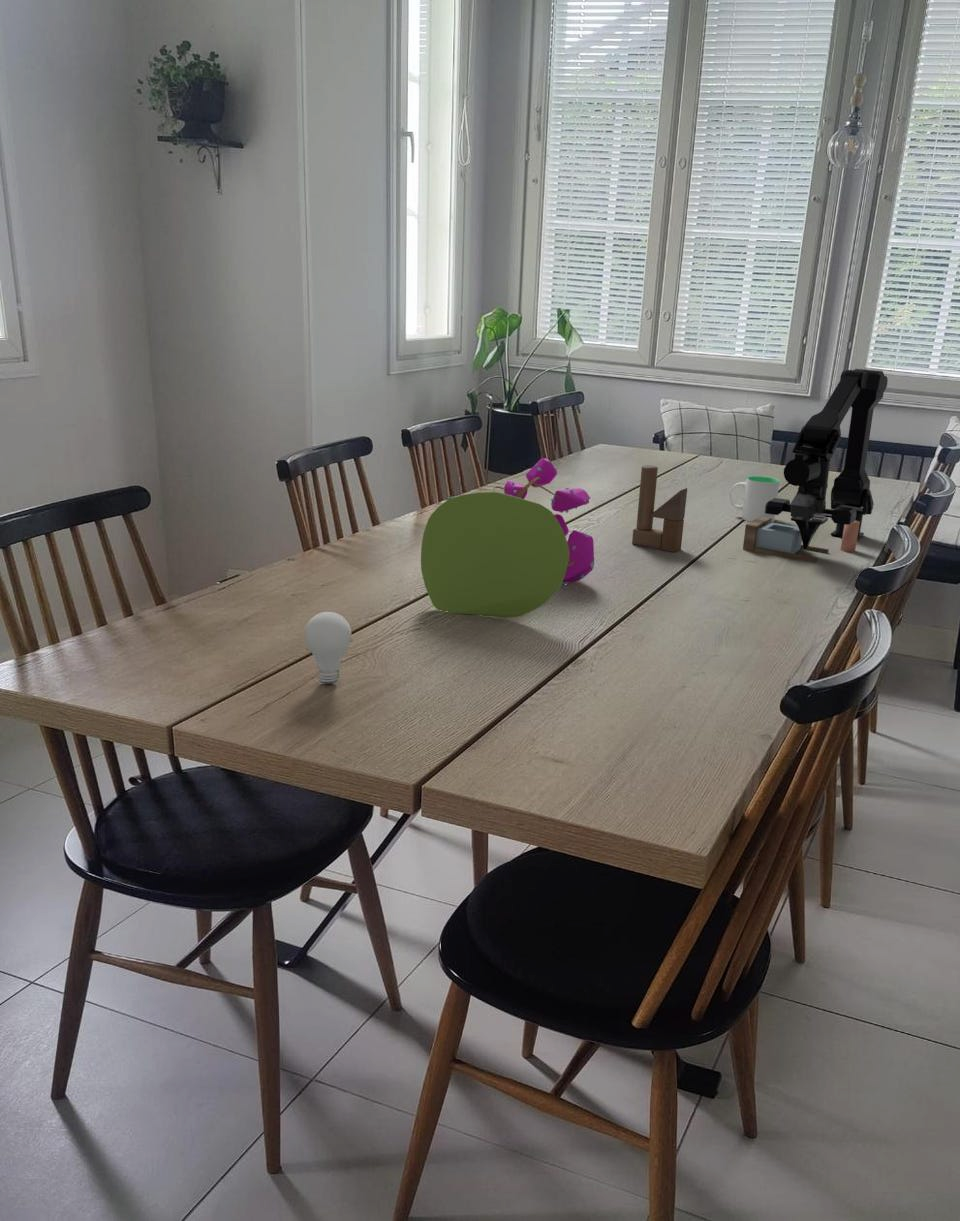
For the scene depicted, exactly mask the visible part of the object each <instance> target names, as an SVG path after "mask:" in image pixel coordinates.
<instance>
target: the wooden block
mask: <svg viewBox="0 0 960 1221" xmlns="http://www.w3.org/2000/svg"><path fill="white" fill-rule="evenodd" d="M658 470H659V468H658V466H656V465H652V464H651V465H650V464H649V465H643V466H641V472H640V482H639V484H640V485H639V494H638V503H637V504H638V506H637V517H636V525H635V526H636V528H633V530H632V538H631V539H632V540H631V544H632V545H635V544H636V546H641V547H646V548H652V549H657V550H661V551H666V552H671V553H676V552H679V551H680V550H682V542H683V541H682V540H683V534H684V533H683V531H684V522H685V520H684V519H685V515H686V513H685V512H686V506H687V505H686V503H687V497H688V496H687V495H688V487H685V488H683V489H680V490H679V491H677V493H675V494H674V495H673V496H672V497H670V498H669V499H667V501H666V502H664V503H663V504H662V505H661V506H659V507H658V508H657V509H656V510H655V502H656V492H657V491H656V490H657V480H658V473H659V472H658ZM654 518H657V519H663V526H662V530H661V529H656V528H653V525H654V524H653V522H654Z"/></svg>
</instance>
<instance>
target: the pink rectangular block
mask: <svg viewBox="0 0 960 1221" xmlns="http://www.w3.org/2000/svg"><path fill="white" fill-rule="evenodd" d="M859 524H860V522H859V521H854V522H853V523H851V524H850V525H846V524H844V531H843V537H841V545H840V551H842V552H845V553H855V552H856V548H857V543H858V539H857V537H858V530H859Z"/></svg>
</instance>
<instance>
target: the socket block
mask: <svg viewBox="0 0 960 1221" xmlns="http://www.w3.org/2000/svg"><path fill="white" fill-rule="evenodd" d="M802 544H803V542H802V538H801V534H800V530H799V528H798V526H794V525H788V524H782V523H777V522H776V523H775V522H771V523H770V522H769V523H767V524H765V525H763V526H762V527H760V528H758V532H757V540H756V547H758V548H764V549H770V550H775V551H781V552H787V553H792V554H797V552H798V551H800V550H802V549H801V545H802Z"/></svg>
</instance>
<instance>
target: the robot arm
mask: <svg viewBox="0 0 960 1221" xmlns="http://www.w3.org/2000/svg"><path fill="white" fill-rule="evenodd" d="M887 387H888V377H887V375H885V374H884V372H883V371H882V370H874V369H863V368H855V369H846V370H842V372H841V374H840V376H839V382H838V383H837V385H836V387H835V388H834V390H833V391H832V393H831V395H830V396H829V398H828V400H827V402H826V404H824V407H823V408H822V409H821V411H820V412H818V413H815V414H813V415H812V416H810V418H809V419H808V420H807V422H805V425H804V426H802V428H801V430H800V432H799V435H798V437H797V439H796V442H795V445H794V447H793V449H792V453H793V454H794V458H793V459H791V460H789V461H788V462H787V463H786V465H785V467H784V468H783V477H784V479H785V481H786V482H787V483H788V484H789V485H791V486H793V487H797V492H796V493H795V494H796V495H795V496H794V497H793V498H792V500H791V501H790V499H785V498H779V497H777V498H774V499H772V500H770V501H768V502H767V503H766V506H765V513H766V514H773V515H775V516H779V515H780V514H781V513H783V512H785V513H790V521H793V522H795V523H796V525H797V527H798V528H799V530H800V534H801V538H802V545H803V547H804V549H807V548H808V546H810V544H811V542H812V540H813V538H814V536H815V534H816V532H817V530H818V529H819V527H820V526H821V525H824V524H825V523H826V522H828V521H829V518H830V519H831V521H832V522H833V523H834V524H835V525H836V526H835V529H834V530H833V531H832V532H831V533H830V536H833V537H840V538H842V537H843V531H844V524H846V525H850V524H851V523H853V522H854V521H859V522H860V524H859V530H858V537H857V540H859V539H860V538H861V537H863V536H864V535H865V533H864V532H862V531H861V530H862V522H863V516H866V515H872V514H873V513H872V512H873V509H874V505H875V504H874V499H873V495H872V492H871V490H870V489H871V480H870V478H869V475H868V473H867V472H866V464H867V457H868V452H869V451H868V450H869V443H870V435H871V429H872V422H873V416H874V410H875V408H876V406H877V405H878V404H879V403H880V402H881V400H882V399H883V398H884V393H885V392H886V389H887ZM850 408H851V414H850V421H849V429H848V436H847V443H846V450H845V451H846V452H845V457H844V458H845V459H844V465H843V469H842V471H841V472H840V474H838V476H835V478H834V480H833V486H832V488H831V492H830V508H826V506H827V505H826V504H827V501H826V498H827V491H828V485H829V482H828V481H829V475H830V474H829V473H830V466H831V458H833V457H834V455H833V454H834V453H835V451H836V450H837V447H839V444H840V441H841V439H842V432H841V431H842V430H841V424H842V422H843V421H844V419H845V417H846V415H847V414H848V412H849V411H850ZM804 549H803V550H804Z"/></svg>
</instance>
